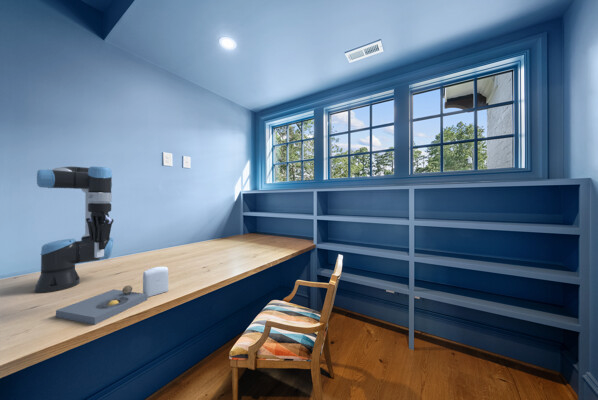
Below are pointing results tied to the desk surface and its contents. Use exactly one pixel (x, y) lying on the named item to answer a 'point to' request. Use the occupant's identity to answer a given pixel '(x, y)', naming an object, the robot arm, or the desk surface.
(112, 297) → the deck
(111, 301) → the ball
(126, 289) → the cork ball
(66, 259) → the robot arm
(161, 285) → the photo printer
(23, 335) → the desk surface
